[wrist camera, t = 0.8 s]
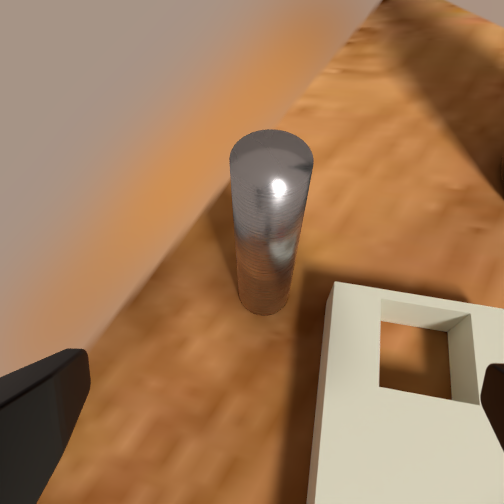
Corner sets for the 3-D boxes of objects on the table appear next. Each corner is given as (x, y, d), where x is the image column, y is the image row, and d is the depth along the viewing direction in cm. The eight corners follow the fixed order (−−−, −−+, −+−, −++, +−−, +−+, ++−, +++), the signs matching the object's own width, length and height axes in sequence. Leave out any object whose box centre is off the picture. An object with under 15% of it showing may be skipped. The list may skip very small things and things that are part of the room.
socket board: (551, 816, 15) (614, 887, 12) (282, 742, 16) (288, 793, 13) (490, 330, 24) (519, 311, 22) (326, 302, 25) (334, 281, 23)
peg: (284, 319, 25) (308, 197, 14) (234, 310, 25) (221, 184, 15) (291, 274, 26) (317, 135, 16) (244, 266, 26) (238, 124, 16)
